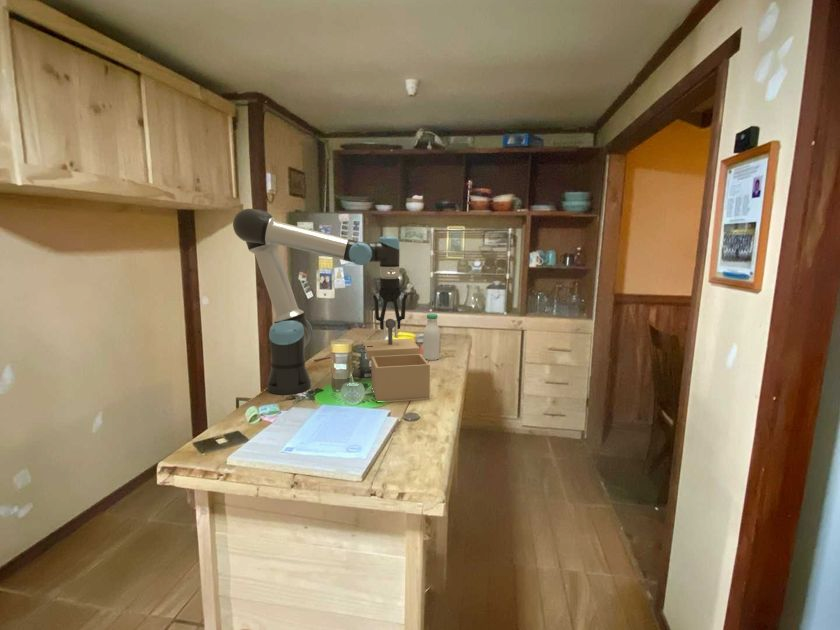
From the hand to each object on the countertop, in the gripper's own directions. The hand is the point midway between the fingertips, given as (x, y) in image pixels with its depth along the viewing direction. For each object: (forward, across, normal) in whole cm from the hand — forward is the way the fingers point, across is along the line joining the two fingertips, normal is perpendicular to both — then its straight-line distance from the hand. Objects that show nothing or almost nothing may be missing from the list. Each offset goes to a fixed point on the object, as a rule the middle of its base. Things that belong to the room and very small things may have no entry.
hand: (390, 337), depth 174 cm
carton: (+15, 0, -22) cm, 27 cm away
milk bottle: (+16, +22, +20) cm, 33 cm away
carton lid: (+6, 0, 0) cm, 6 cm away
